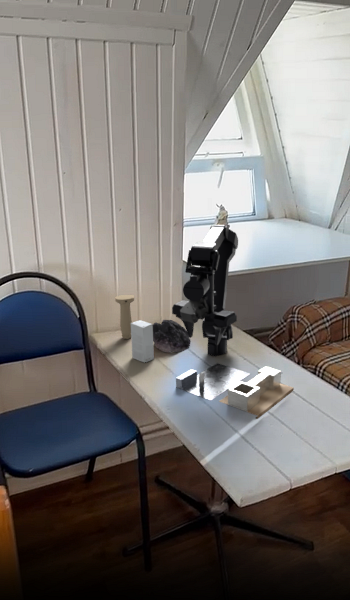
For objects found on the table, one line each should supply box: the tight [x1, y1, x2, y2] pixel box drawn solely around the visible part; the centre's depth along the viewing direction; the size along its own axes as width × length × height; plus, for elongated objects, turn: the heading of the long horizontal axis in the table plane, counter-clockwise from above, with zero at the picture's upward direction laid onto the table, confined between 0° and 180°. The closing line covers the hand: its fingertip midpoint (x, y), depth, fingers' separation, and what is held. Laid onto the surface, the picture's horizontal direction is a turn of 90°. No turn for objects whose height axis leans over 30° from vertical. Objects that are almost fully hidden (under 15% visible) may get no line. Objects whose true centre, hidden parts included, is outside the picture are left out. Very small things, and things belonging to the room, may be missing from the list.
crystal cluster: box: [152, 319, 192, 353], centre depth 185 cm, size 13×14×10 cm
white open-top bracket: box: [227, 365, 282, 413], centre depth 150 cm, size 18×6×4 cm, turn 140°
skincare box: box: [130, 319, 155, 363], centre depth 174 cm, size 6×4×12 cm
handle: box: [114, 294, 135, 340], centre depth 190 cm, size 5×6×15 cm
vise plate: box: [175, 362, 251, 402], centre depth 158 cm, size 20×12×6 cm, turn 140°
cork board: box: [218, 375, 295, 420], centre depth 151 cm, size 19×12×1 cm, turn 140°
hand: (203, 340), depth 159 cm, fingers open, 9 cm apart
